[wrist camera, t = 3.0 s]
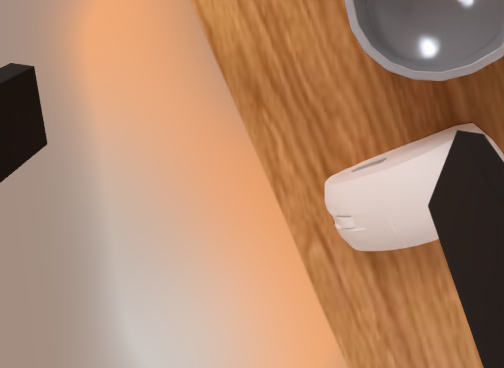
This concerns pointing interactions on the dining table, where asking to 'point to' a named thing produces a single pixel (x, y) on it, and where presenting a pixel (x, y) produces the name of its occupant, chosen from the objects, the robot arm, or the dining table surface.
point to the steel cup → (429, 35)
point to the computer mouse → (392, 194)
